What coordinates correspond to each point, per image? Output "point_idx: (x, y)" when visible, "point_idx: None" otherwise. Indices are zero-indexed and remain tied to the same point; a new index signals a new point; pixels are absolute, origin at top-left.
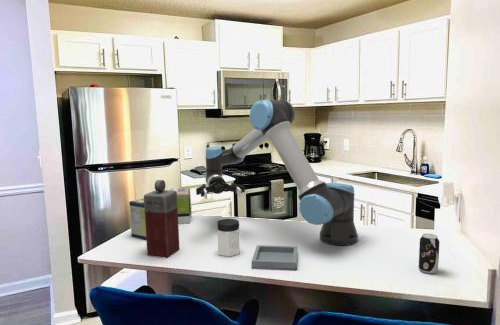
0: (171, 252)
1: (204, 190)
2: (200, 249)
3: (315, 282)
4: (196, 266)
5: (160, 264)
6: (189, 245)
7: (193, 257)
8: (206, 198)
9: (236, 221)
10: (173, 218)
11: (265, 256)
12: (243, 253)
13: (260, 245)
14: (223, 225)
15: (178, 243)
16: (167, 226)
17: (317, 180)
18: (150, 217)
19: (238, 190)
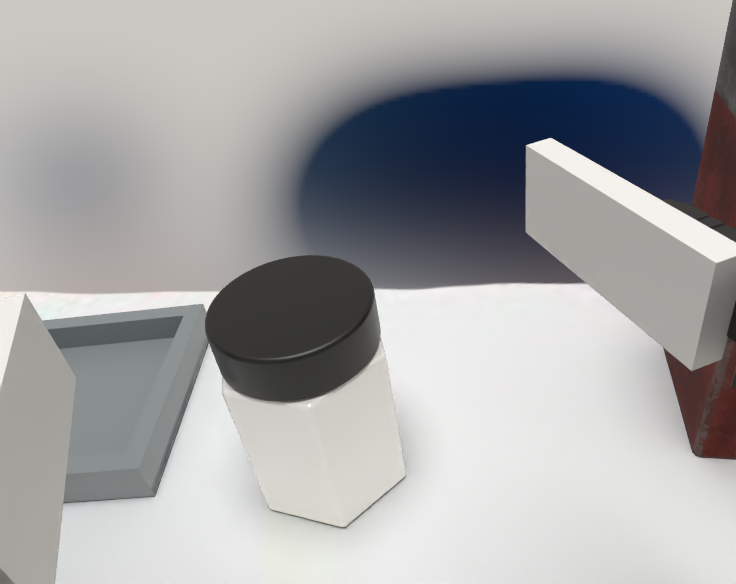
0: (673, 359)
1: (630, 185)
2: (542, 477)
3: (16, 294)
4: (459, 305)
5: None
6: (677, 536)
7: (523, 372)
8: (534, 224)
9: (222, 313)
10: (728, 202)
11: (123, 419)
12: (242, 462)
13: (116, 467)
14: (316, 258)
15: (699, 410)
16: (697, 187)
17: None
18: None
19: (24, 363)
